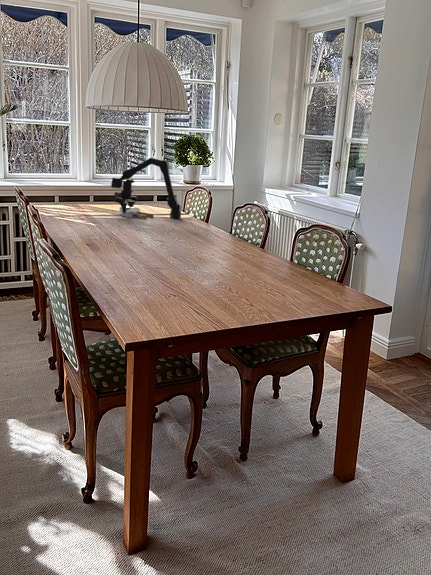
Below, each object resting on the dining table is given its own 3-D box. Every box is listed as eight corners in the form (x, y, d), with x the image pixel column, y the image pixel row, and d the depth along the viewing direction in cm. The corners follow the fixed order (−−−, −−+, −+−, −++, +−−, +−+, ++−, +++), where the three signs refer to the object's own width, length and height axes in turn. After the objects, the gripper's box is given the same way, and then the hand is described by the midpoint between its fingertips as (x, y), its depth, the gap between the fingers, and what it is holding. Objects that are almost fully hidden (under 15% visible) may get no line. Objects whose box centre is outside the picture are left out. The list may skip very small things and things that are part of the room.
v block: (137, 218, 348) (137, 213, 348) (131, 219, 343) (131, 214, 343) (127, 216, 352) (127, 212, 351) (121, 217, 347) (121, 213, 346)
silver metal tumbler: (139, 216, 355) (140, 207, 354) (134, 216, 351) (135, 208, 349) (124, 213, 361) (124, 205, 360) (119, 213, 356) (119, 205, 355)
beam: (153, 218, 353) (153, 214, 352) (145, 220, 345) (145, 215, 344) (127, 213, 363) (127, 209, 362) (118, 215, 355) (118, 210, 354)
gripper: (126, 186, 364) (125, 209, 368) (108, 188, 348) (108, 211, 352) (139, 188, 359) (138, 211, 363) (122, 190, 343) (121, 214, 347)
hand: (126, 212), depth 357 cm, fingers closed on silver metal tumbler, 6 cm apart
